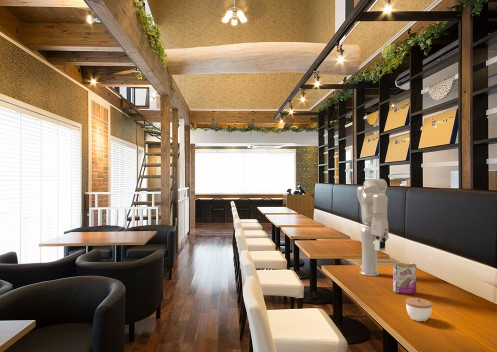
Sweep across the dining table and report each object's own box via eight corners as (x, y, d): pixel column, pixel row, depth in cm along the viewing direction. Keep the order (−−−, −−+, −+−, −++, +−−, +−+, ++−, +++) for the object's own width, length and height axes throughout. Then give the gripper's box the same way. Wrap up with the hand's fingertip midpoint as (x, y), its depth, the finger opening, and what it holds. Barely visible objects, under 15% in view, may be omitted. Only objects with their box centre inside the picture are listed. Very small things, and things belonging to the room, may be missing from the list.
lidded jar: (409, 312, 165) (409, 292, 165) (434, 318, 158) (434, 297, 158) (402, 319, 157) (402, 298, 157) (429, 325, 150) (428, 303, 150)
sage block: (374, 249, 202) (375, 239, 202) (380, 249, 203) (380, 239, 203) (379, 251, 198) (379, 240, 198) (384, 251, 199) (385, 240, 199)
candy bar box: (395, 293, 193) (395, 264, 193) (392, 290, 198) (392, 261, 198) (416, 294, 192) (416, 264, 192) (413, 291, 197) (413, 262, 197)
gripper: (365, 214, 207) (365, 245, 207) (384, 217, 191) (384, 251, 192) (376, 214, 210) (376, 244, 210) (395, 217, 194) (395, 250, 194)
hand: (379, 247), depth 201 cm, fingers closed on sage block, 3 cm apart
